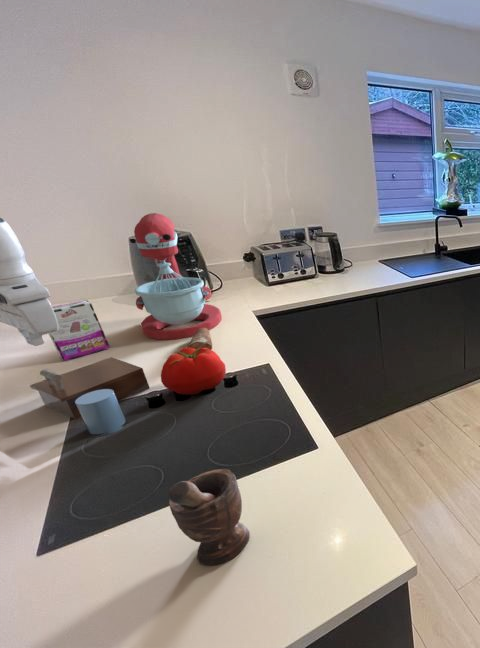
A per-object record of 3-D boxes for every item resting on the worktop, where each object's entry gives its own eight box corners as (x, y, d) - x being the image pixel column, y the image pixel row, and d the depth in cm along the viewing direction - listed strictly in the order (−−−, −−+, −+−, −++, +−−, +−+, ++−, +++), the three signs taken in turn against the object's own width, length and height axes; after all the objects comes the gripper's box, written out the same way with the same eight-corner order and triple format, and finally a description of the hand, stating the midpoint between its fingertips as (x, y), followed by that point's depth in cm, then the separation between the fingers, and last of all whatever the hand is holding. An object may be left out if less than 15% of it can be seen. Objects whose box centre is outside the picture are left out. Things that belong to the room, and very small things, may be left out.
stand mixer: (139, 347, 133) (94, 227, 118) (146, 317, 157) (109, 213, 141) (224, 331, 147) (194, 221, 131) (219, 305, 170) (193, 209, 154)
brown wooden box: (76, 422, 97) (66, 400, 95) (46, 407, 102) (35, 386, 100) (150, 390, 110) (143, 370, 108) (120, 378, 115) (112, 359, 113)
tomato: (234, 388, 112) (224, 351, 108) (170, 408, 103) (156, 369, 98) (224, 371, 121) (214, 336, 116) (164, 387, 112) (150, 350, 107)
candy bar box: (106, 344, 135) (87, 299, 128) (110, 348, 132) (92, 302, 126) (58, 357, 126) (36, 309, 120) (62, 361, 123) (40, 312, 117)
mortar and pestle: (264, 560, 66) (235, 467, 58) (200, 597, 60) (159, 498, 53) (246, 517, 73) (219, 429, 66) (188, 546, 68) (150, 453, 60)
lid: (61, 402, 94) (52, 383, 92) (30, 387, 99) (21, 369, 97) (143, 370, 108) (136, 353, 106) (112, 359, 113) (105, 343, 111)
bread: (189, 360, 126) (184, 344, 124) (195, 338, 141) (190, 323, 139) (213, 355, 129) (209, 340, 127) (216, 334, 144) (212, 320, 142)
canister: (99, 439, 91) (84, 407, 88) (84, 432, 94) (68, 400, 90) (132, 424, 97) (119, 392, 93) (117, 417, 99) (104, 386, 96)
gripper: (-34, 285, 89) (-5, 340, 94) (10, 299, 82) (39, 358, 87) (7, 278, 94) (33, 331, 100) (52, 290, 87) (77, 346, 93)
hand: (36, 344), depth 94 cm, fingers closed
